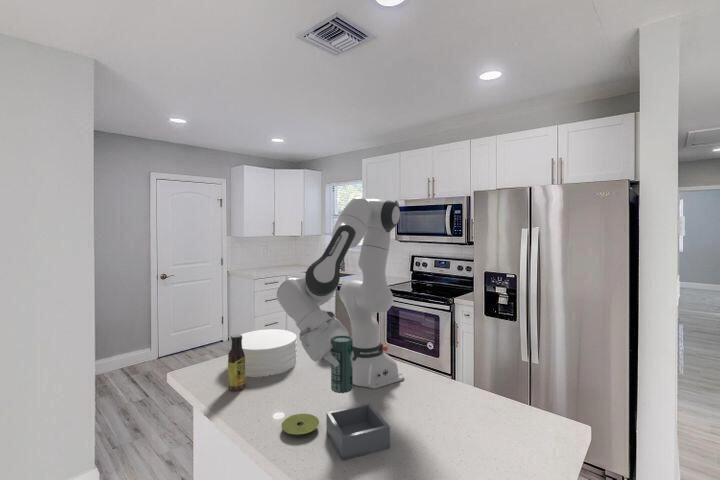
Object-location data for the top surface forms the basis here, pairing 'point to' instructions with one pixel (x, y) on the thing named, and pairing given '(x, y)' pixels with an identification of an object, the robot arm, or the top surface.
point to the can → (342, 364)
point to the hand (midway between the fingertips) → (343, 360)
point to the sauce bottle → (236, 364)
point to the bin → (357, 431)
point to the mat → (300, 424)
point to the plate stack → (269, 352)
